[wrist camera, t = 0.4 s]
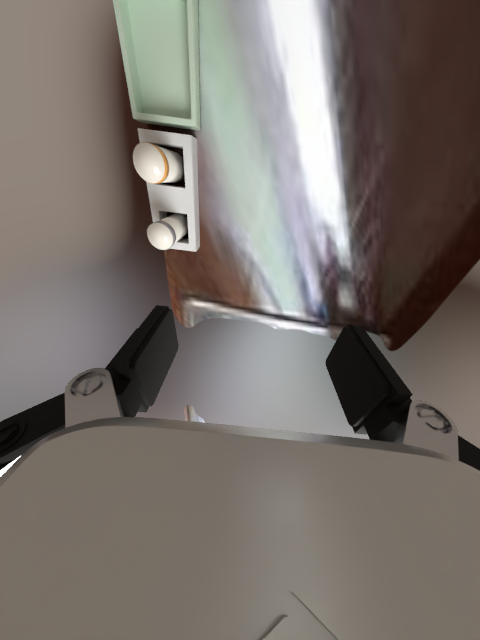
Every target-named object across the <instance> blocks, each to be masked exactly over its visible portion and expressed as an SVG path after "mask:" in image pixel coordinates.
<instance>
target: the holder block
mask: <svg viewBox="0 0 480 640" xmlns="http://www.w3.org/2000/svg"><path fill="white" fill-rule="evenodd" d="M138 134H139V140H140V143H141V142H148V143H151V144H154V145H156V146H158V145H160V146H168V147H175V148H183V158H184V174H185V187H183V186H175V185H167V184H163V183H156V184H152V183H149V182H147V181H146V183H147V189H148V195H149V201H150V206H151V213H152V219H153V223H154V222H156V221H160V220H162V219H164V218H166V217H167V216H166V212H174V213H182V214H187V221H188V237H189V239H186V238H181V239H180V240H178V241H177V242H176V243H175V244H174V245H173V246H172V247H170V248H171V249H179V250H187V251H195V252H196V251H197V250H198V249H199V247H200V232H199V197H198V162H197V139H196V138H194V137H193V136H192V135H186V134H178V133H171V132H163V131H156V130H148V129H140V128H138Z"/></svg>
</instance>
